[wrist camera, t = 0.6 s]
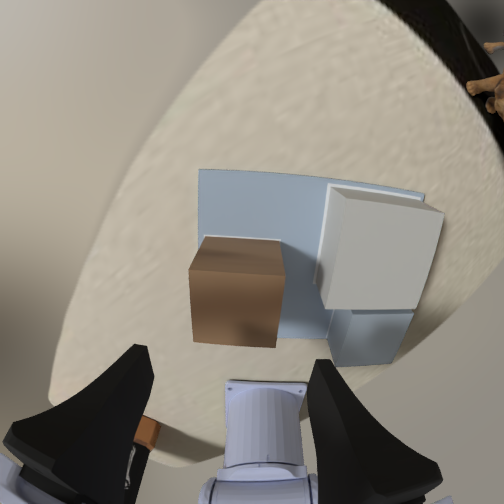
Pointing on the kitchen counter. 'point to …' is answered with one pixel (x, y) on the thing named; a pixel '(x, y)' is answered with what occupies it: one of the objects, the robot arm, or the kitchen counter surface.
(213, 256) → the walnut block
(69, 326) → the kitchen counter surface
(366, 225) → the base block
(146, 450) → the whiskey bottle
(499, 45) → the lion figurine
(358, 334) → the slate block
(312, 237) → the mat
